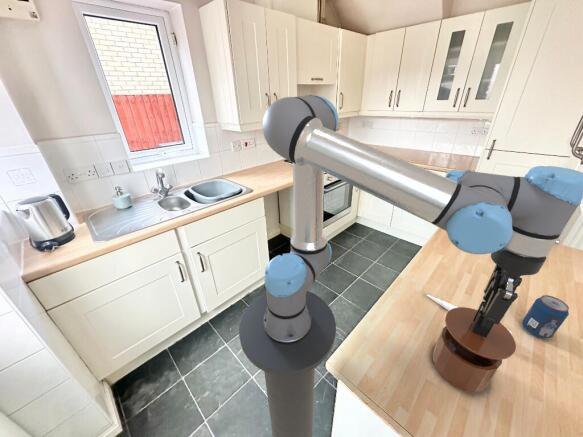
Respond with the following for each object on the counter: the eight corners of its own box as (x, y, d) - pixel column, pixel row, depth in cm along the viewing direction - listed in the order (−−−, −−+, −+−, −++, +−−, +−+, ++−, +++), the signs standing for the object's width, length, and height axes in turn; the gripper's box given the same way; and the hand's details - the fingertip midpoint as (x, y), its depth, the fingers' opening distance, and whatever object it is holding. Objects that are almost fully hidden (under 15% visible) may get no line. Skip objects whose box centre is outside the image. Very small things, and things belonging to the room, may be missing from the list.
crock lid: (440, 339, 57) (451, 314, 53) (447, 302, 67) (457, 278, 63) (515, 374, 50) (534, 348, 46) (511, 327, 60) (527, 301, 56)
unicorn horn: (432, 291, 89) (435, 281, 87) (509, 341, 71) (516, 331, 69) (424, 296, 87) (427, 286, 85) (502, 349, 69) (509, 339, 67)
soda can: (532, 319, 78) (550, 291, 72) (557, 338, 72) (579, 310, 66) (514, 323, 77) (531, 295, 71) (538, 342, 71) (559, 314, 65)
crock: (428, 372, 64) (438, 350, 60) (436, 337, 73) (445, 315, 69) (487, 403, 58) (503, 381, 53) (487, 360, 67) (501, 338, 62)
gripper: (555, 279, 39) (500, 364, 50) (541, 235, 50) (498, 313, 62) (497, 262, 43) (457, 345, 54) (496, 225, 54) (463, 300, 65)
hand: (479, 328), depth 58 cm, fingers closed on crock lid, 3 cm apart
